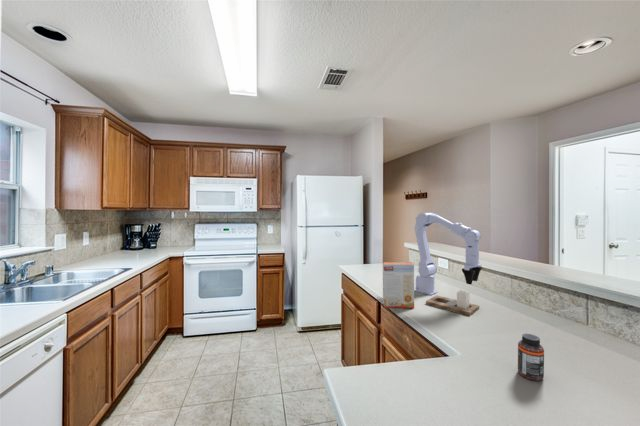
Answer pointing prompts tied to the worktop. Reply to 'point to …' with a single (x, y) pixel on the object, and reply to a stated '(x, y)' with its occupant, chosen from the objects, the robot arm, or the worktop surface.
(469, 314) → the socket panel
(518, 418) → the worktop surface
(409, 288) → the cracker box
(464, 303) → the plug
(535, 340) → the supplement bottle
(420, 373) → the worktop surface
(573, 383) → the worktop surface
